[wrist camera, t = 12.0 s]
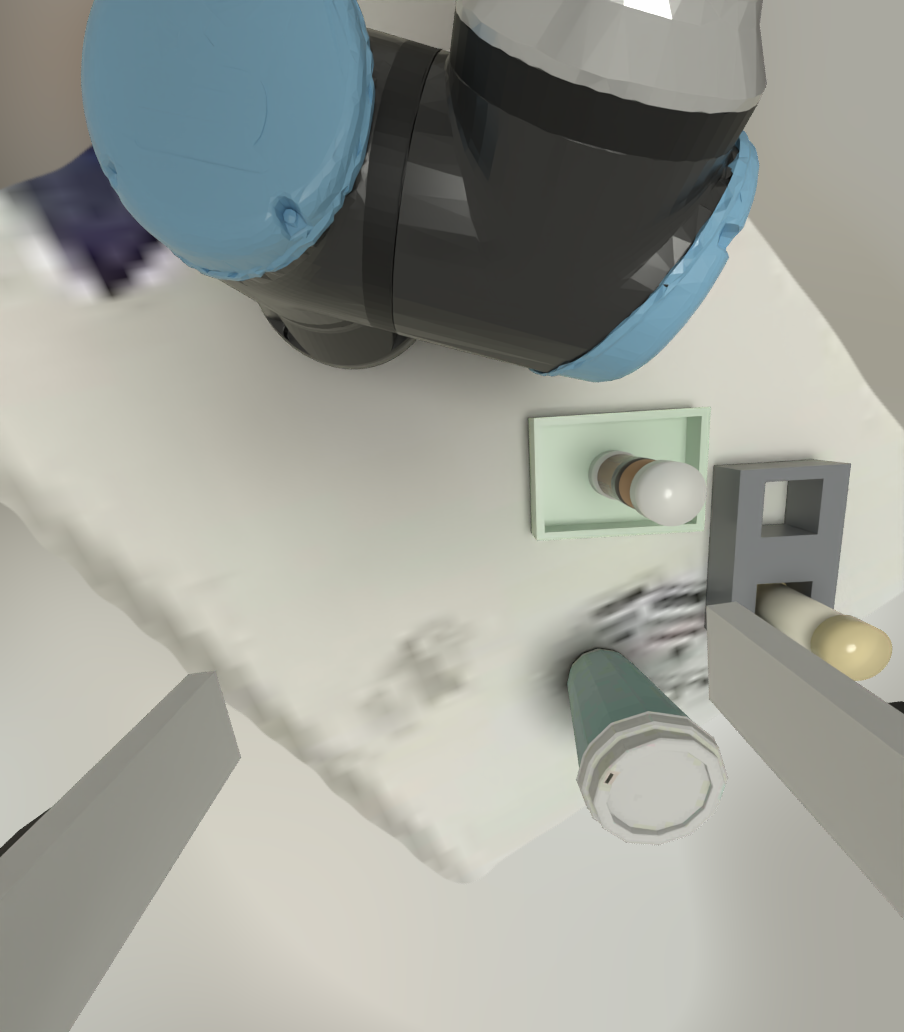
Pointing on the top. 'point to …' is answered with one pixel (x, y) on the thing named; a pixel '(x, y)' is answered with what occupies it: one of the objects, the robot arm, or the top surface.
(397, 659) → the top surface
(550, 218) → the robot arm
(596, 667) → the disposable coffee cup
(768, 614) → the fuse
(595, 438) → the parts tray
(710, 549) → the grey rectangular block
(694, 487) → the cylinder
